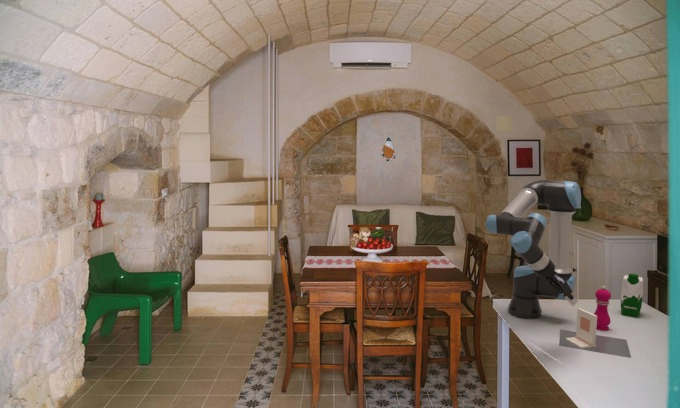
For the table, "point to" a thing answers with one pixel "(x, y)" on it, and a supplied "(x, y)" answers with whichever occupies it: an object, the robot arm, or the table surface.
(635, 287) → the milk carton
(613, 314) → the table surface
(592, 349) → the slate board
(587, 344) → the base
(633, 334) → the table surface
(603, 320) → the pepper mill
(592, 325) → the cream flat block
